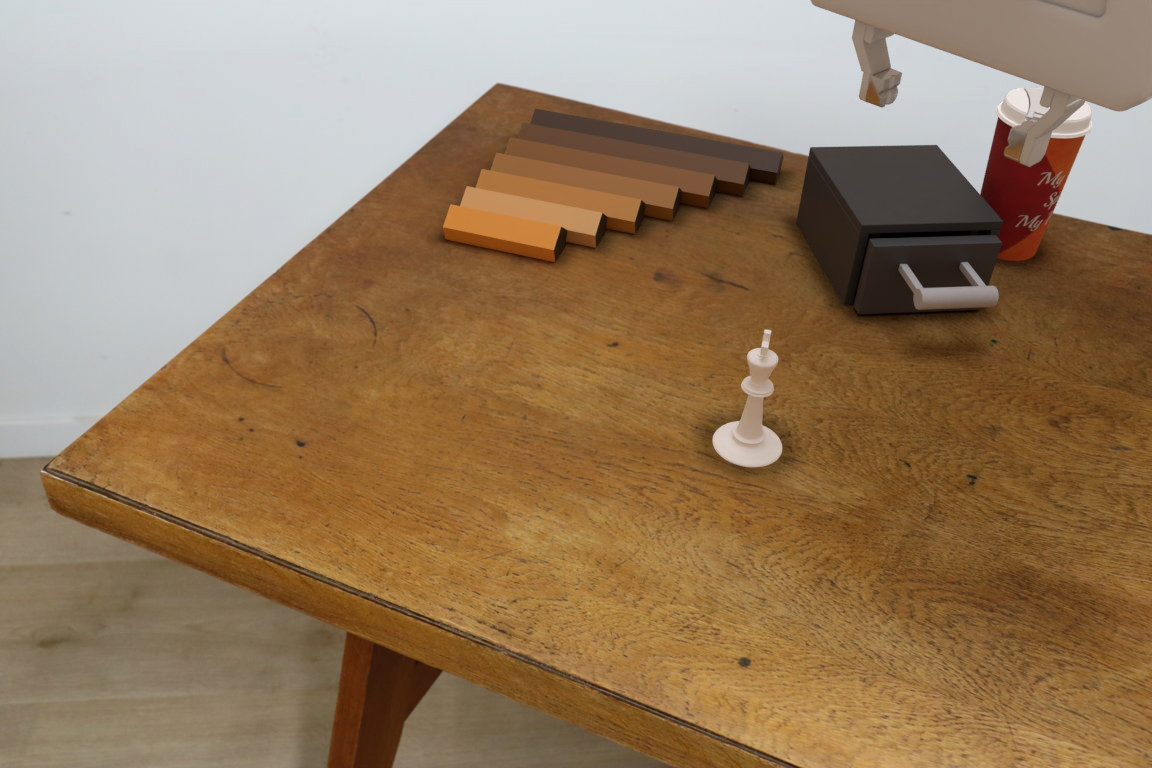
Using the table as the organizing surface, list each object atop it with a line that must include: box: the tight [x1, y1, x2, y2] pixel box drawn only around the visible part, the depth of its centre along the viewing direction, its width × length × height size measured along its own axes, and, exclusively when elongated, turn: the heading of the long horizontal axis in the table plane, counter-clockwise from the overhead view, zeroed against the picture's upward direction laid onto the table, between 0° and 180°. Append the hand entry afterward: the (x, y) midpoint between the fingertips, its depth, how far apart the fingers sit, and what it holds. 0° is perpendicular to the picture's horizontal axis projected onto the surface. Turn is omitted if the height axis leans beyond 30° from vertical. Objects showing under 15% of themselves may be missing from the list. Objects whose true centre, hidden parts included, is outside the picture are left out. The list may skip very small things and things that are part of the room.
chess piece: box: [711, 328, 783, 468], centre depth 73 cm, size 5×5×10 cm
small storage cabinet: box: [795, 144, 1003, 307], centre depth 94 cm, size 14×12×8 cm
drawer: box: [853, 230, 1002, 315], centre depth 90 cm, size 18×10×6 cm, turn 7°
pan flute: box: [442, 108, 784, 263], centre depth 101 cm, size 25×3×25 cm
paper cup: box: [979, 86, 1094, 262], centre depth 95 cm, size 8×8×14 cm
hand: (946, 129), depth 62 cm, fingers open, 8 cm apart
